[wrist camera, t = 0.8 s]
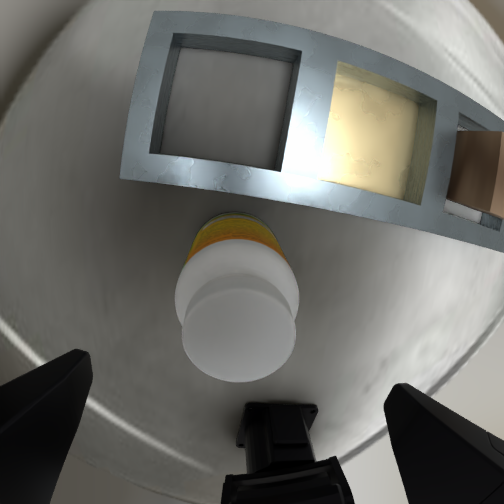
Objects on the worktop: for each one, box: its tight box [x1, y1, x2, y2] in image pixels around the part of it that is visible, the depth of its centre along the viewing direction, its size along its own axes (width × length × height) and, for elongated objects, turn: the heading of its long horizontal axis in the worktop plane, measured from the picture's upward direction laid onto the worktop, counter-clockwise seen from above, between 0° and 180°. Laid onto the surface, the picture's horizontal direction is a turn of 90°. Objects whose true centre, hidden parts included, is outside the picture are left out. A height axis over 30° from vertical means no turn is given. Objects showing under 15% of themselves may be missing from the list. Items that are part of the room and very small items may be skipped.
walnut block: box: [446, 131, 504, 220], centre depth 16 cm, size 5×5×6 cm
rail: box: [120, 11, 504, 253], centre depth 16 cm, size 10×28×2 cm, turn 80°
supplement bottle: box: [175, 212, 299, 382], centre depth 15 cm, size 5×5×10 cm
